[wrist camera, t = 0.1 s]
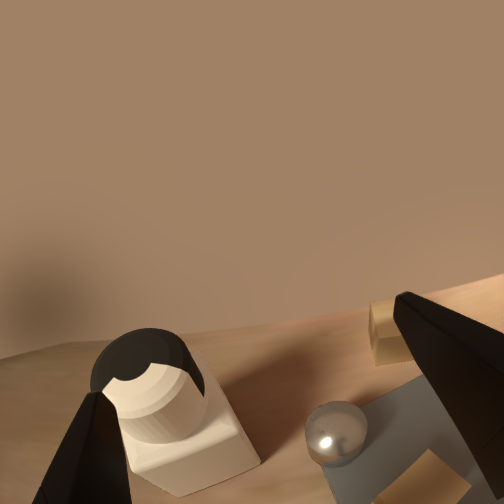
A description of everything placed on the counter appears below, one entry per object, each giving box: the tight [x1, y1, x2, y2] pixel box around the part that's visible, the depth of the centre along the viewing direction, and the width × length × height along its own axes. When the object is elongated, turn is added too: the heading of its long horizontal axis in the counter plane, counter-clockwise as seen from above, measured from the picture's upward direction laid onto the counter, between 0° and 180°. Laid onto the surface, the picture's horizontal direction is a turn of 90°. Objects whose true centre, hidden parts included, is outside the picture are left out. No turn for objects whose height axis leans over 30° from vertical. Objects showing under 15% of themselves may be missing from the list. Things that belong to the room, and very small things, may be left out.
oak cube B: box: [368, 299, 414, 366], centre depth 25 cm, size 4×4×4 cm
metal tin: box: [305, 401, 368, 468], centre depth 18 cm, size 4×4×3 cm
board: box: [321, 374, 504, 504], centre depth 14 cm, size 19×18×1 cm
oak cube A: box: [371, 449, 472, 504], centre depth 13 cm, size 4×4×4 cm
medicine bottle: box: [90, 328, 261, 497], centre depth 18 cm, size 7×7×12 cm
